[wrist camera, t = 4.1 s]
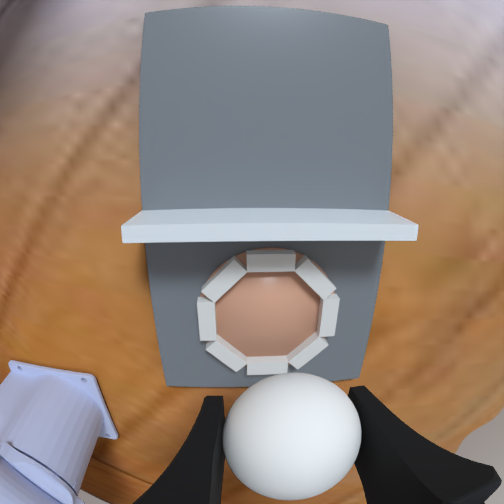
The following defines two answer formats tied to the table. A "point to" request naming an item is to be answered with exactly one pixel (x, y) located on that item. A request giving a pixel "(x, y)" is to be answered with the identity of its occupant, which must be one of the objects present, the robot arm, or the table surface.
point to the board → (264, 190)
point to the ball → (291, 436)
